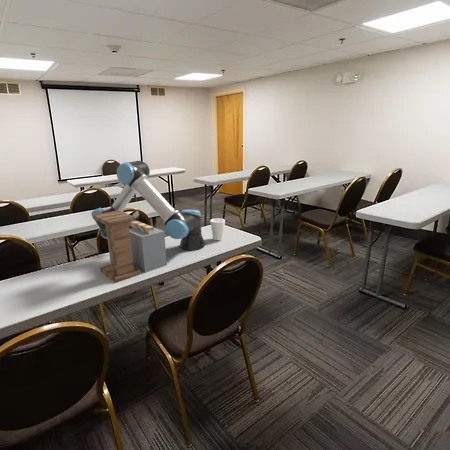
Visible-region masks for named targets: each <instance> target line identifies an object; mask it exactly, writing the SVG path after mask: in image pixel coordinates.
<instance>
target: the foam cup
mask: <svg viewBox="0 0 450 450" xmlns="http://www.w3.org/2000/svg"><path fill="white" fill-rule="evenodd" d="M225 225H226V220H225V219H224V218H219V217H217V218H212V219H210V227H211V234H212V239H214V240H221V241H223V240H222V239H224V233H225ZM214 240H213V241H214Z"/></svg>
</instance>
